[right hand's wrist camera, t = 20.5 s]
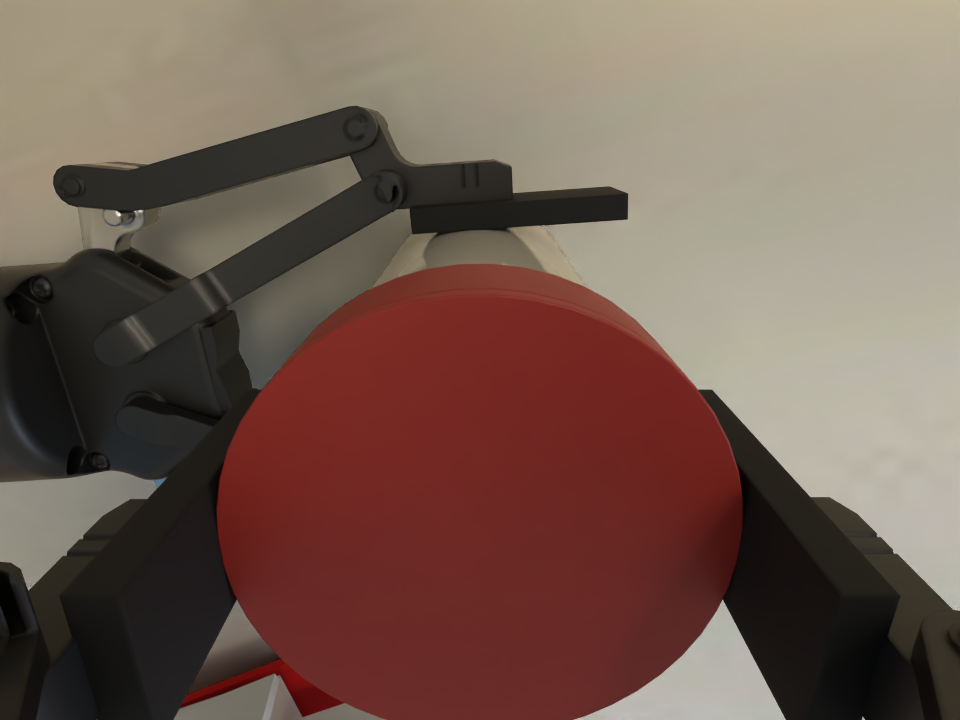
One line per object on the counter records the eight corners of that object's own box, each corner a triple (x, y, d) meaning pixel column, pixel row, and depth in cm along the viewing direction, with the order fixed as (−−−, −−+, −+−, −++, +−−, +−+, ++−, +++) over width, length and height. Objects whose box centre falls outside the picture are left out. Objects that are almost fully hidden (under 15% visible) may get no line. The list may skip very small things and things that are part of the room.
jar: (358, 241, 26) (174, 401, 10) (539, 174, 25) (640, 239, 9) (427, 403, 29) (365, 724, 13) (593, 349, 28) (739, 626, 12)
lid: (789, 418, 12) (858, 481, 10) (534, 696, 15) (544, 793, 13) (400, 162, 10) (380, 169, 8) (192, 530, 13) (134, 610, 11)
